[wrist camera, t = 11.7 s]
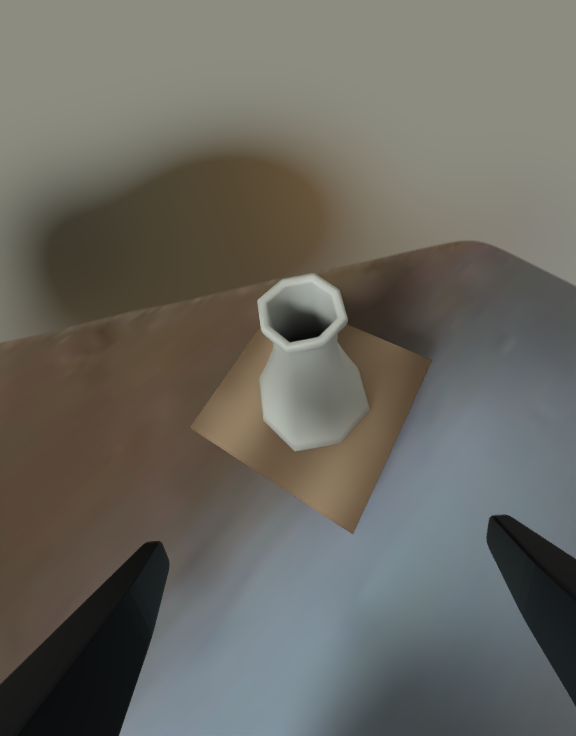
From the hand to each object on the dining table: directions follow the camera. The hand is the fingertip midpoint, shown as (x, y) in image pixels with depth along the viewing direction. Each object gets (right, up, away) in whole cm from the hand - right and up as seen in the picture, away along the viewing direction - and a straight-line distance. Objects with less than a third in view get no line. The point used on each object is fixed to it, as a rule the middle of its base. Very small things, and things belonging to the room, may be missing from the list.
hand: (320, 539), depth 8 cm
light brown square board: (+1, +1, +15) cm, 15 cm away
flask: (+1, +3, +12) cm, 12 cm away
